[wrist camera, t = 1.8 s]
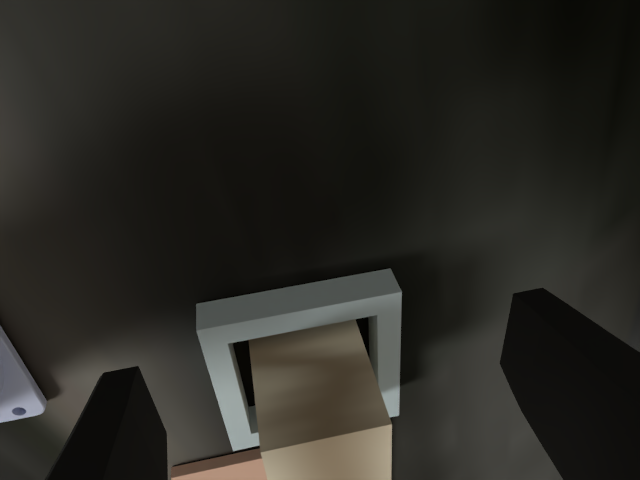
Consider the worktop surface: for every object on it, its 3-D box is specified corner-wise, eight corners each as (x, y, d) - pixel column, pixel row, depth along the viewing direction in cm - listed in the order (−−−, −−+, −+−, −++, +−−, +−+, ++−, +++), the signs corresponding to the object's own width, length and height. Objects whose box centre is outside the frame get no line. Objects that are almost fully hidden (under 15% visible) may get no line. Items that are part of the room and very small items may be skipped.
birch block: (261, 392, 25) (277, 519, 20) (246, 325, 22) (260, 452, 17) (354, 373, 25) (391, 492, 20) (350, 305, 23) (391, 424, 18)
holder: (231, 423, 26) (233, 451, 24) (196, 303, 21) (196, 330, 20) (389, 390, 26) (398, 415, 25) (390, 268, 22) (401, 291, 20)
